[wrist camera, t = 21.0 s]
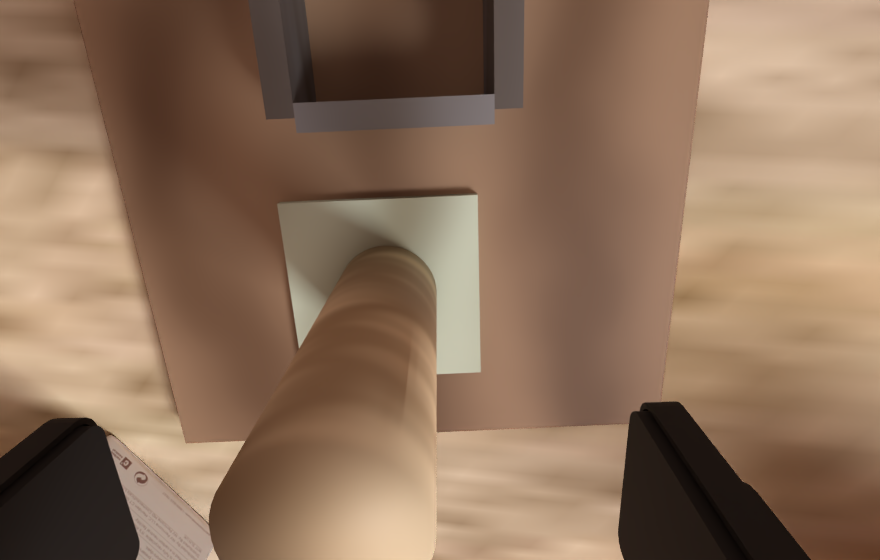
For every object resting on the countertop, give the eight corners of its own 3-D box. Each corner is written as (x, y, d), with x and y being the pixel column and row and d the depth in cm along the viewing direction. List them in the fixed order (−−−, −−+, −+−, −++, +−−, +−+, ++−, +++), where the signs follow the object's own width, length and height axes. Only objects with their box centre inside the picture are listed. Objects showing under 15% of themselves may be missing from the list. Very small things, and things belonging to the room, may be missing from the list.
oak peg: (434, 243, 18) (431, 435, 7) (438, 334, 19) (440, 612, 8) (334, 247, 18) (187, 445, 7) (344, 338, 19) (231, 619, 8)
